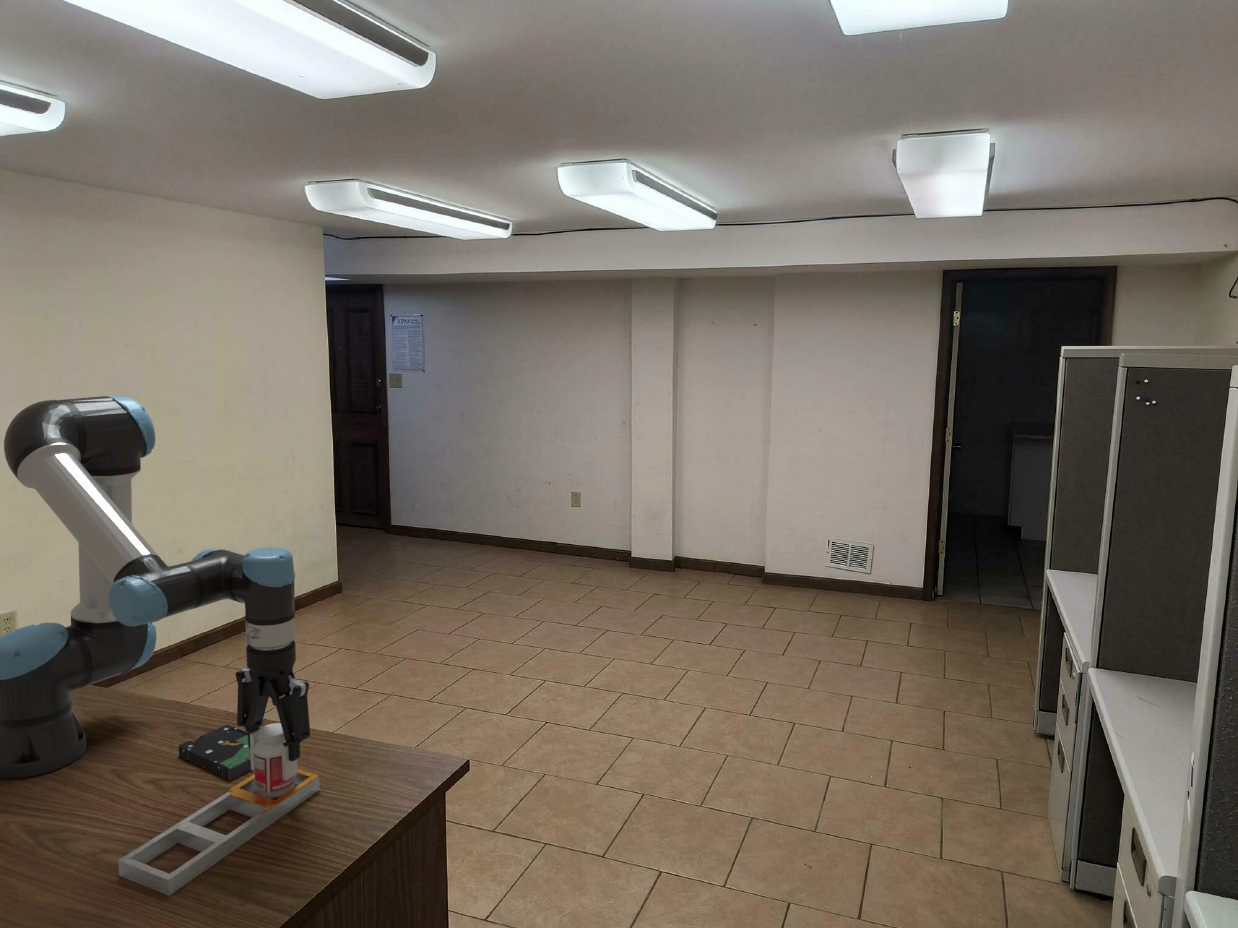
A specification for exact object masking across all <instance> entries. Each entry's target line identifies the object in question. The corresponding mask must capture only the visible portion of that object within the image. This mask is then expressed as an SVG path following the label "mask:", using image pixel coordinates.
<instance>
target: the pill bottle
mask: <svg viewBox="0 0 1238 928" xmlns="http://www.w3.org/2000/svg"><path fill="white" fill-rule="evenodd" d="M258 740H259V741H258V742H257V743H256V745H255V747H254V768H255V771H254V774H255V791H256V793H255V794H258V795H261V796H264V797H267V798H270V799H278V798H280V797H281V796H283V795H284V794H286V793H287V792H289V791H290V790H291V789H293V788H294V787H295V786H294V776H293V777H291V778H290V779H288V780H287V781H285V780H283V777H282V743H283V742H285V737H284V733H283V730H282V726H281V722H276V723H274V722H273V723H270V724H266V725H264V726H261V727H259V731H258Z"/></svg>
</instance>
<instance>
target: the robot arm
mask: <svg viewBox="0 0 1238 928" xmlns="http://www.w3.org/2000/svg"><path fill="white" fill-rule="evenodd" d="M155 445H156V431H155V426H154V424H153V421H152V419H151V416H150V415H149V413H148V411H147V410H146V408H145V407H144V406H143V405H142V404H141V403H140V402H139V401H138V400H135V399H133V398H132V397H128V396H120V395H119V396H114V395H113V396H111V395H102V396H90V397H79V398H67V399H49V400H48V399H47V400H41V401H37V402H35V403H32V404H30V405H28V406H26V407H25V408H24V409H22V410H20V411H19V412H18V413H17V414H16V415H15V416H14V417H13V419H12V420H11V422H10V423H9V425H8V427H7V429H6V431H5V435H4V439H3V453H4V458H5V460H6V464H7V465H8V468H9V469H10V471H11V473H12V474H13V475H14V477H15V478H16V479H17V481H18V482H20V484H21V485H22V486H24V487H25V488H28V489H34V490H35V491H36V493H38V495H39V496H40V497H41V498H42V500H43V501H44V502H45V503H46V504H47V506H48V507H49V509H51V511H52V512H53V513H54V514H55V515H56V516H57V518H58V519H59V521H60V522H61V523H62V524H63V525H64V526H65V528H66V529H67V530H68V532H70V534H71V535H72V537H74V539H75V541H77V543H78V573H79V574H78V575H79V577H78V578H79V580H78V581H79V602H78V603H77V604H76V605H75V606H74V607H73V608H72V609H71V610H70V625H69V626H65V625H63V624H61V623H58V622H42V623H41V622H40V623H38V624H30V625H26V626H22V627H19V628H18V629H14V630H12V631H9V632H8V633H6V634H4V635H2V636H1V637H0V779H22V778H28V777H35V776H40V775H44V774H47V773H50V772H53V771H56V770H59V769H61V768H64V767H65V766H68V765H70V764H71V763H74V762H75V761H76V760H77V759H79V758H80V757H81V756H82V755H83V754H84V753H85V752H86V749H87V735H86V732H85V731H84V729H83V727H82V724H81V723H80V721H79V719H78V717H77V715H76V713H75V710H74V709H73V699H72V692H74V691H76V690H79V689H82V688H85V687H87V686H90V685H94V684H96V683H99V682H101V681H105V680H107V679H110V678H114V677H116V676H118V675H124V674H127V673H129V672H130V671H132V670H134V669H136V668H139V667H141V666H143V665H145V663H147V661H149V660H150V658H151V657H152V655H153V654H154V651H155V649H156V644H157V628H156V625H155V624H153V623H156V622H159V621H162V620H163V619H165V618H168V617H171V616H175V615H177V614H181V613H184V612H187V611H190V610H193V609H198V608H201V607H204V606H208V605H211V604H214V603H216V602H219V601H223V600H230V601H234V602H237V603H241V604H244V612H245V613H244V619H245V641H246V644H247V645H246V647H245V649H246V651H245V653H246V654H245V655H246V656H245V657H246V667H245V668H242V669H240V670H238V671H236V672H235V678H236V684H237V710H236V712H237V713H236V724H237V725H238V727H240V728H241V727H244V729H245V732H247V733H248V747H249V748H250V753H251V770H250V771H254V772H255V768H254V747H255V745H256V743H257V742H258V741H259V740H258V731H259V729H260V728H261V727H263V725H264V726H265V722H264V717H265V713H266V709H267V704H268V701H269V699H270V698H271V703H272V705H273V706H274V707H276V710H277V711H276V712H277V715H278V718H279V723H281V726H282V730H283V733H284V737H285V742H283V743H282V777H283V780H285V781H287V780H288V779H290V778H291V777H293V776H294V775H296V774H297V773H298V769H299V766H298V765H299V764H298V762H299V761H298V759H299V758H300V756H301V742H303V741H305V740H306V739H308V738H309V737H311V726H310V725H311V724H310V714H309V703H308V702H309V701H308V693H309V689H310V683H309V682H308V681H303V682H301V681H299V680H297V679H296V676H295V674H294V671H293V669H294V665H295V663H296V660H297V654H296V653H297V651H296V648H297V646H296V644H297V643H296V641H295V639H296V619H295V615H296V614H295V612H296V611H295V609H296V607H295V606H296V605H295V603H296V602H295V578H296V572H295V567H294V566H295V565H294V556H293V554H292V553H291V552H290V550H288V549H286V548H283V547H271V546H269V547H268V546H266V547H259V548H254V549H250V550H249V551H248V552H246V553H245V554H242V553H237V552H234V551H231V550H228V549H221V548H219V549H218V548H207V549H203V550H202V551H200V552H199V553H198V554H196V556H194V557H192V560H190V561H187V562H184V563H179V564H175V565H170V566H169V565H167V564H166V562H165V561H164V560H163V559H162V558H161V557H160V556H159V555H158V553H157V552H156V551H155V550H154V548H153V547H152V546H151V545H150V544H149V542H147V540H146V539H145V538H144V537H143V535H142V534H141V533H140V532H139V531H138V530H137V528H136V527H135V526H134V525H133V512H132V511H133V508H132V507H133V504H132V503H133V500H132V499H133V498H132V496H133V494H132V480H133V478H134V477H136V475H137V474H139V473H140V472H141V467H142V466H141V463H142V462H141V461H142V458H145V457H147V456H149V455H150V454H151V453H152V452H153V450H154V448H155Z"/></svg>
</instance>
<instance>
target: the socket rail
mask: <svg viewBox="0 0 1238 928" xmlns="http://www.w3.org/2000/svg"><path fill="white" fill-rule="evenodd" d="M319 791H320V775H319V774H316V773H314V772H310V771H307V770H303V769H300V768H298V773H297V774H296V775H294V787H293V789H291V790H290V791H289V792H287V793H286V794H284V795H283V796H281V797H278V798H276V799H274V798H267V797H264V796H261V795H258V794H256V791H255V773H253V774H252V775H251V776H249V777H247V778H246V779H245V778H244V780H242V781H241V782H239V783H238V784H236V785H234V786H233V787H231V788H229V790H228V791H227V792H226V793H224V794H223V795H220V796H219V797H218V798H216V799H214V800H213V801H211V802H210V803H208V804H207V805H204V806H203V807H202V808H200V809H198V810H196V811H195V812H194V813H192V814H190V815H189V816H188V817H186V818H183V819H182V820H181V821H179V822H177V823H176V824H174V825H173V826H171V827H169V828H168V829H166V830H164V831H163V832H161V833H159V834H158V835H156V836H154V837H153V838H152V839H150V840H148V841H147V842H145V843H144V844H142V845H140V846H139V847H138V848H137V847H136V848H135V849H134V850H132V851H131V852H129V853H128V854H126V855H125V856H123V857H120V858H119V859H118V875H119V876H118V877H122V878H124V879H127V880H129V881H131V882H134V883H136V884H139V885H141V886H143V887H146V888H149V889H151V890H153V891H156V892H159V893H161V894H164V895H165V896H168V897H170V896H172V895H173V894H175V893H176V892H177V891H179V890H180V889H181V888H183V887H185V886H186V885H187V884H189V883H190V882H192V881H193V880H194V879H196V878H197V877H199V876H200V875H201V874H202V872H203V873H204V872H206V871H207V870H208V869H210V868H211V867H212V866H214V865H216V864H217V863H218V862H220V861H221V860H222V858H223V859H224V858H225V857H227V856H228V855H230V854H232V853H233V852H234V851H235V850H237V849H238V848H239V847H241V846H242V845H244V844H245V843H247V842H248V841H249V840H251V839H252V838H253V837H255V836H257V835H258V834H260V833H261V832H263V830H265V829H267V828H268V827H270V825H272V824H274V823H276V821H278V820H279V819H281V818H282V817H284V816H285V815H286V814H287V813H290V812H291V811H292V810H293V809H295V808H296V807H297V806H299V805H300V804H302V803H303V802H304V801H306V800H307V799H309V798H310V797H312V796H313V795H315V794H316V793H317V792H319ZM226 811H227V812H228V811H233V812H235V813H239V814H241V815H244V816H247V817H250V819H248V820H247V821H245V822H244V823H242V824H241V825H239V826H238V827H236V828H235V829H233V830H232V831H230V832H229V833H228V834H223V833H220V832H218V831H215V830H212V829H209V828H207V827H205V826H206V825H208V824H209V823H211V822H212V821H214V820H216V819H218V818H220V816H221V815H223V814H225V813H227V812H226ZM177 844H179V845H181V844H182V846H184V847H186V848H189V847H190V848H189V849H192V848H193V849H192V850H194V851H197V850H198V852H200V853H198V854H196V856H194V857H191V859H190V860H188V861H187V862H185V863H183V864H182V865H180V866H179V867H178V868H176V869H175V870H173V871H171V872H170V873H168V872H166V871H164V870H160V869H158V868H155V867H153V866H150V865H148V863H149V862H150V861H152V860H154V859H155V858H157V857H159V856H160V855H162V854H163V853H164V852H166V851H168V850H169V849H171V848H172V847H174V846H175V845H177ZM173 845H174V846H173ZM205 870H206V871H205ZM199 874H200V875H199ZM196 876H197V877H196ZM195 877H196V878H195ZM192 879H193V880H192ZM189 881H190V882H189ZM188 882H189V883H188ZM186 883H187V884H186ZM185 884H186V885H185ZM178 889H179V890H178Z"/></svg>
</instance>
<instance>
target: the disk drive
mask: <svg viewBox="0 0 1238 928" xmlns="http://www.w3.org/2000/svg"><path fill="white" fill-rule="evenodd" d="M179 756H181V757H180V758H182V757H183V758H185V759H188V760H189V761H188V762H190V761H192V762H194V763H196V764H198V765H200V766H199V767H201V766H203V767H205V768H206V769H205V768H204V769H205V770H207V769H208V770H207V771H209V770H210V771H209V772H211V771H212V772H211V773H213V772H214V774H215V773H216V774H215V775H217V774H218V776H219V775H220V776H219V777H221V776H222V777H221V778H224V777H225V778H226V780H227V779H229V780H228V781H232V780H234V779H235V777H236V778H237V776H238V775H240V776H242V775H244V774H245V773H248V772H250V771H252V770H251V753H250V748H249V747H248V732H247V731H246V730H245V731H244V730H242V729H241V728H237V727H235V726H233V725H230V724H228V723H227V724H225V725H223V726H219V727H218V728H216V729H213V730H211V731H209V732H206V733H203V734H201V735H200V736H199V737H198V738H196V740H195V741H193V740H188V741H185V742H184V743H183V742H182V743H180V744H179V745H178V757H179ZM183 758H182V759H183ZM185 759H184V760H185ZM192 762H191V763H192ZM194 763H193V764H194ZM196 764H195V765H196ZM198 765H197V766H198ZM203 767H202V768H203ZM241 774H242V775H241ZM238 777H239V776H238ZM225 778H224V779H225ZM233 778H234V779H233ZM231 779H232V780H231Z"/></svg>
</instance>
